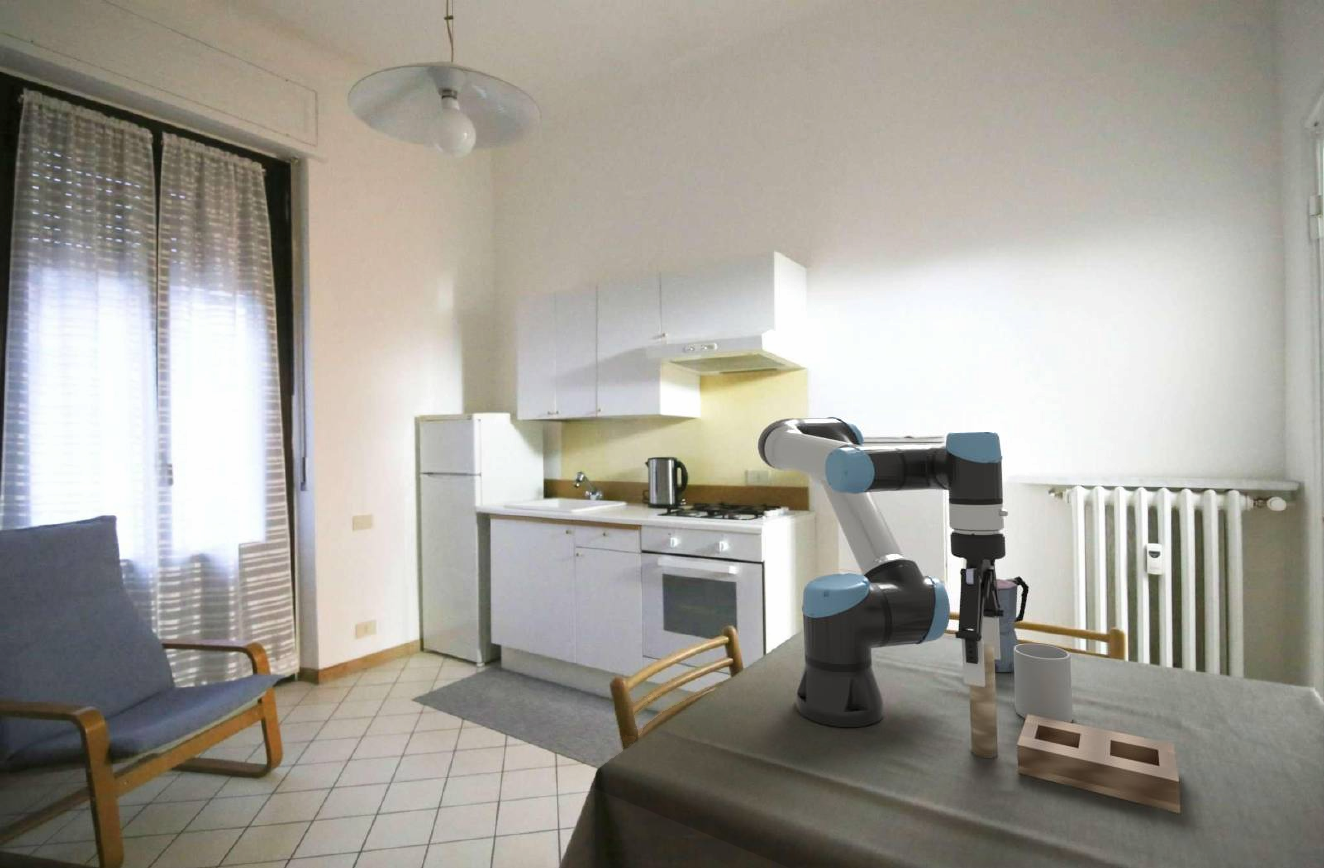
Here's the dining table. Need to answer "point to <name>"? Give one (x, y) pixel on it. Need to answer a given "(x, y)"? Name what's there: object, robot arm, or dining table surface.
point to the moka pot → (1009, 620)
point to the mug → (1043, 682)
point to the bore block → (1100, 761)
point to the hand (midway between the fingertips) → (983, 670)
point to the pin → (984, 710)
